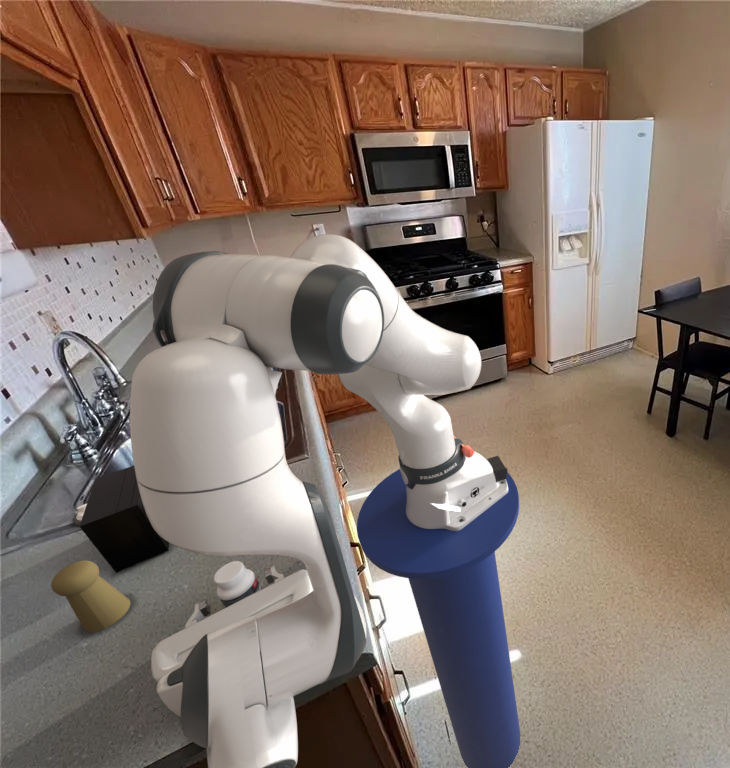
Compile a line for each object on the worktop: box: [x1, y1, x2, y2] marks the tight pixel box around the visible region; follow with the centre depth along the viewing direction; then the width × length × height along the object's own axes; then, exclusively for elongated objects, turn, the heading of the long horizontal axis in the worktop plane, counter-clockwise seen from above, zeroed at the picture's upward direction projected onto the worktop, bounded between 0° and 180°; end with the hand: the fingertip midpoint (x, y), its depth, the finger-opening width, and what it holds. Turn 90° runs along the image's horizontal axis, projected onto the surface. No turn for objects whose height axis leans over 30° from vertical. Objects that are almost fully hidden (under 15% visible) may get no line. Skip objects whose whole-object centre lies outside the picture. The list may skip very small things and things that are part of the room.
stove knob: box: [73, 503, 87, 527], centre depth 90 cm, size 7×7×3 cm
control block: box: [78, 465, 170, 574], centre depth 81 cm, size 8×16×12 cm, turn 35°
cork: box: [50, 560, 131, 634], centre depth 66 cm, size 6×6×11 cm
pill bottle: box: [213, 560, 263, 609], centre depth 66 cm, size 5×5×9 cm
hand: (237, 586), depth 65 cm, fingers open, 8 cm apart
